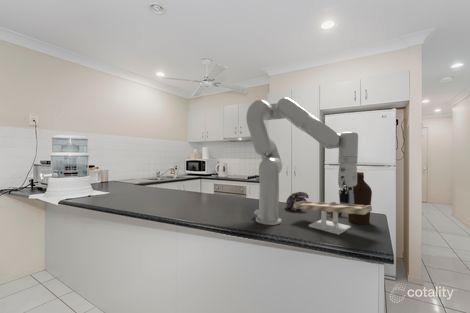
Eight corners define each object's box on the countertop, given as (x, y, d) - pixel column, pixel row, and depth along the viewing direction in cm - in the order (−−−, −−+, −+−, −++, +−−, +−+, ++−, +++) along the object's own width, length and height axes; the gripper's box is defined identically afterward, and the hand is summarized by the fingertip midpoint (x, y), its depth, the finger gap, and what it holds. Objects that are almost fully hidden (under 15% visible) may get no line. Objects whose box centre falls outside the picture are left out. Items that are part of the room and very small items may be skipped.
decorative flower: (279, 191, 144) (302, 185, 144) (283, 207, 147) (305, 201, 147) (285, 202, 130) (311, 195, 130) (289, 220, 134) (314, 213, 133)
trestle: (308, 226, 107) (308, 208, 107) (321, 220, 116) (322, 204, 116) (338, 234, 97) (339, 214, 97) (350, 227, 106) (351, 209, 106)
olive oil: (375, 225, 111) (377, 173, 111) (355, 225, 110) (356, 173, 110) (361, 218, 122) (363, 171, 121) (342, 218, 121) (344, 171, 120)
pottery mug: (326, 218, 123) (321, 203, 127) (325, 221, 131) (321, 207, 135) (349, 214, 120) (344, 199, 124) (347, 217, 129) (342, 203, 133)
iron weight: (339, 203, 101) (338, 190, 101) (343, 202, 104) (342, 189, 104) (350, 204, 98) (349, 190, 98) (354, 203, 101) (353, 189, 101)
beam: (293, 210, 114) (293, 203, 114) (304, 206, 122) (304, 200, 122) (363, 217, 91) (363, 208, 91) (372, 212, 98) (371, 204, 99)
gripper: (349, 161, 92) (348, 206, 92) (363, 160, 104) (362, 200, 104) (330, 160, 97) (329, 203, 98) (346, 160, 109) (345, 198, 110)
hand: (346, 201), depth 101 cm, fingers closed on iron weight, 4 cm apart
